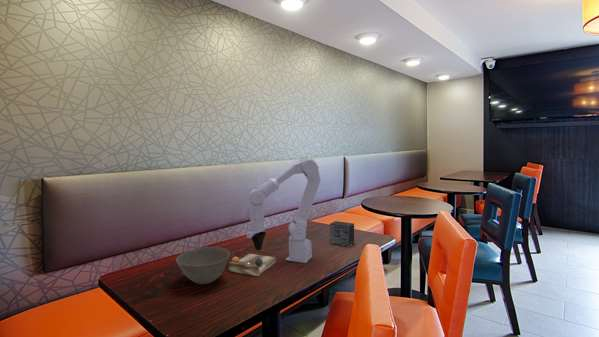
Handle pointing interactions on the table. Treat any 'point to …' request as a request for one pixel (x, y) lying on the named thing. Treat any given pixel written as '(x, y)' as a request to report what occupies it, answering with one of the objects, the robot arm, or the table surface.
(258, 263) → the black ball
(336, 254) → the table surface
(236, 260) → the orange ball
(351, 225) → the small box
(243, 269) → the bearing plate
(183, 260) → the bowl
